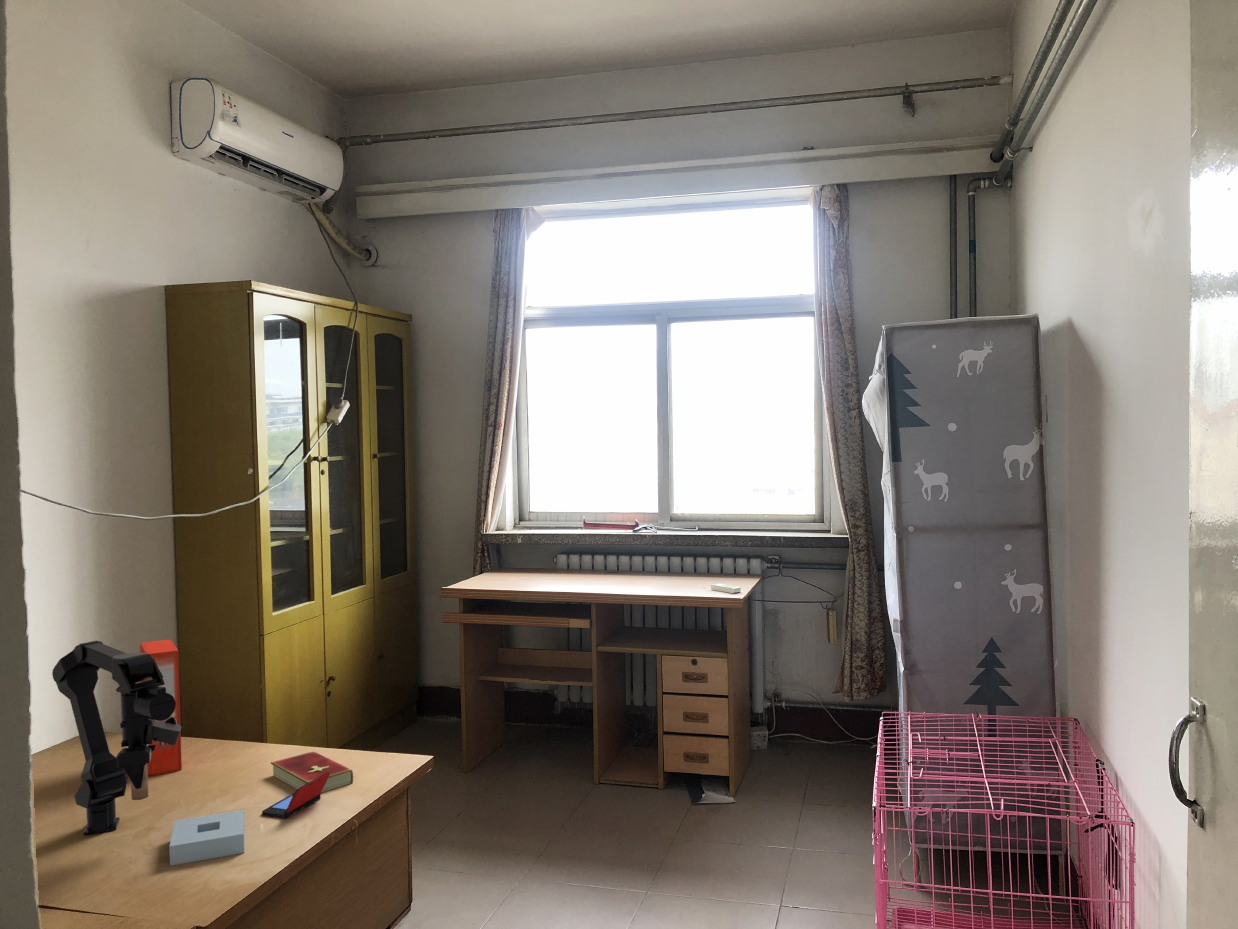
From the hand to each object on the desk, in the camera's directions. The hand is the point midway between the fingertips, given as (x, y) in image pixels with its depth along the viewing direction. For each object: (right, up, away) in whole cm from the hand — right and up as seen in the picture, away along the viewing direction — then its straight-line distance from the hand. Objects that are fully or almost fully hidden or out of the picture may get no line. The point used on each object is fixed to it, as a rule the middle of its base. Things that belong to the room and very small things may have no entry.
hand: (139, 785), depth 198 cm
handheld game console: (+28, -12, +18) cm, 35 cm away
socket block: (+16, -12, -2) cm, 20 cm away
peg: (0, -3, 0) cm, 2 cm away
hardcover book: (+25, -12, +36) cm, 45 cm away
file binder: (-20, -12, +51) cm, 56 cm away
